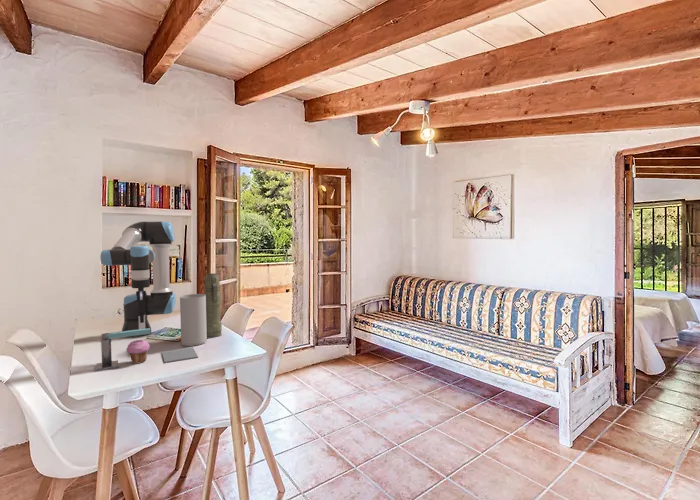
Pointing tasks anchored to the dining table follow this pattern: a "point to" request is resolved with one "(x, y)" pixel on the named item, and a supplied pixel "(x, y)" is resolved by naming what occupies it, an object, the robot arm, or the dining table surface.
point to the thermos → (213, 305)
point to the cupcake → (138, 350)
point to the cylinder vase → (193, 319)
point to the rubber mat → (179, 355)
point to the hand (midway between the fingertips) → (142, 329)
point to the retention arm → (125, 333)
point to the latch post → (106, 357)
